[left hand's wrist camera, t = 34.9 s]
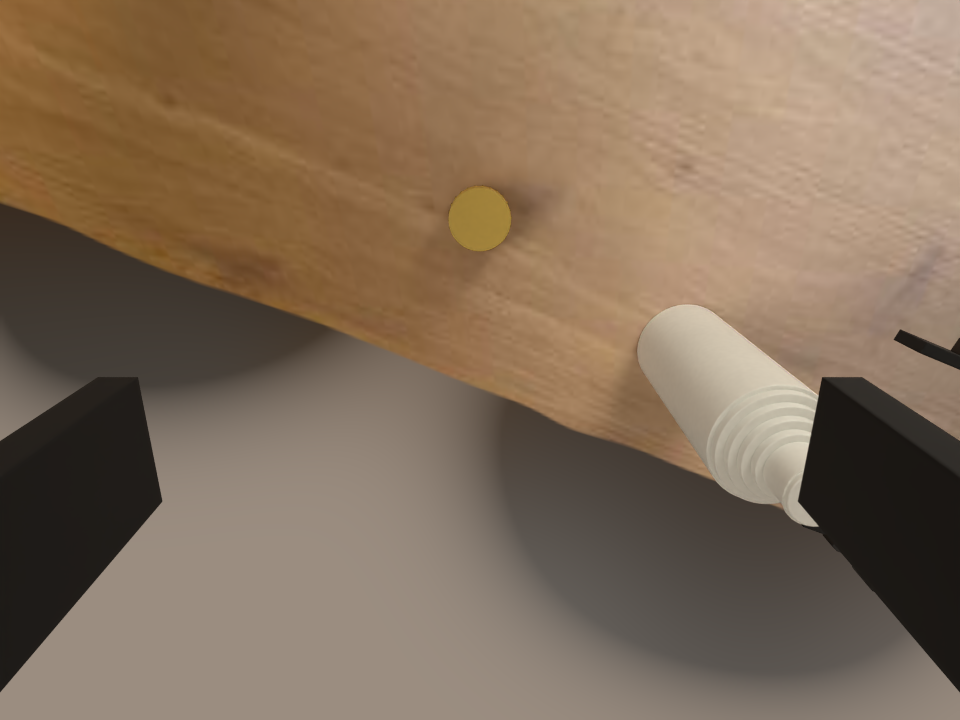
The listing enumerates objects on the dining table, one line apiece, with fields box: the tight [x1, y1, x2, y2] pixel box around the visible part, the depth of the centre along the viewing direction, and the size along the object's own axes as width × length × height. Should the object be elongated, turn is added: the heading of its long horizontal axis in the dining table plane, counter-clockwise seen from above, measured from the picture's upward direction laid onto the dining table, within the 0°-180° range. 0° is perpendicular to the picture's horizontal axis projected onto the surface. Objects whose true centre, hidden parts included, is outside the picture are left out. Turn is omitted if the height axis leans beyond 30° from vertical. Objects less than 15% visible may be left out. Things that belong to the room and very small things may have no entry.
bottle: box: [637, 304, 818, 527], centre depth 38 cm, size 7×7×20 cm
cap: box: [448, 185, 512, 251], centre depth 43 cm, size 4×4×2 cm
